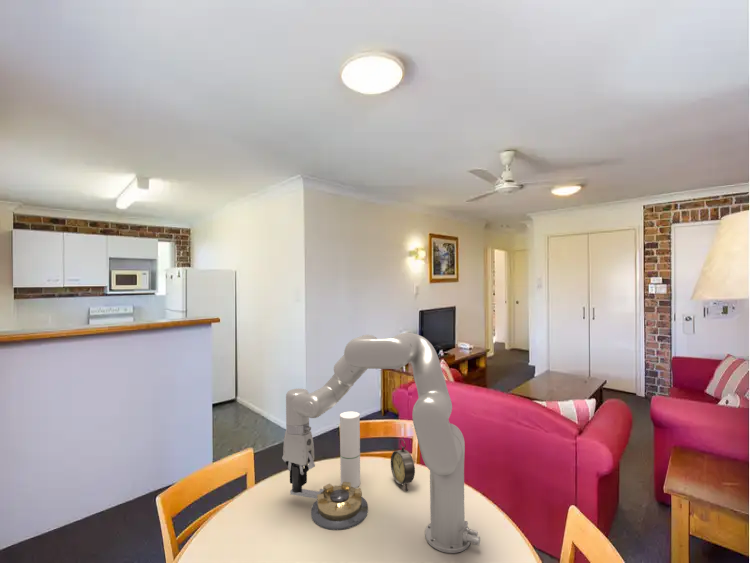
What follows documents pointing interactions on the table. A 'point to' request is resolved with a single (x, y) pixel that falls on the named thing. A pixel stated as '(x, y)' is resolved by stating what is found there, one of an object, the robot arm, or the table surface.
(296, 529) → the table surface
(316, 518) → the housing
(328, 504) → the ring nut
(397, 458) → the alarm clock
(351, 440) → the cylindrical container
